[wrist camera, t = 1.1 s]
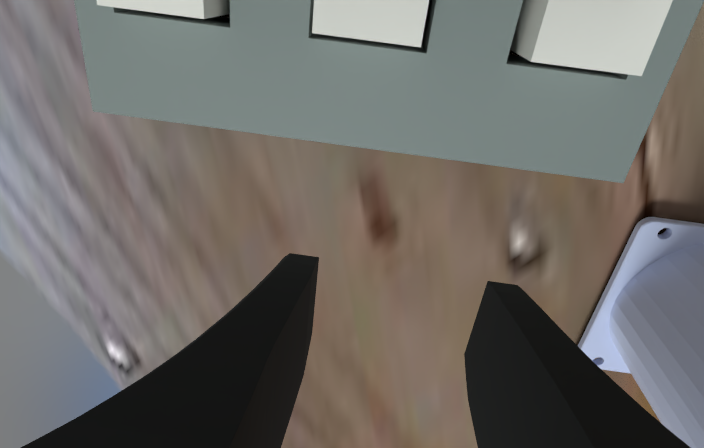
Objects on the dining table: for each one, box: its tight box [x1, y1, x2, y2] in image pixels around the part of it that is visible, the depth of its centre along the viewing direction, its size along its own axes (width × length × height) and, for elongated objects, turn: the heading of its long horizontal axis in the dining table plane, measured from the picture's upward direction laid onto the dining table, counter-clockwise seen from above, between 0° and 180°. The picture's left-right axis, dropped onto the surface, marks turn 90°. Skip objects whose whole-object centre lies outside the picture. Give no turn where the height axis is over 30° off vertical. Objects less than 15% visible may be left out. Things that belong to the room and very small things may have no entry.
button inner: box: [510, 0, 673, 76], centre depth 12 cm, size 3×3×2 cm
